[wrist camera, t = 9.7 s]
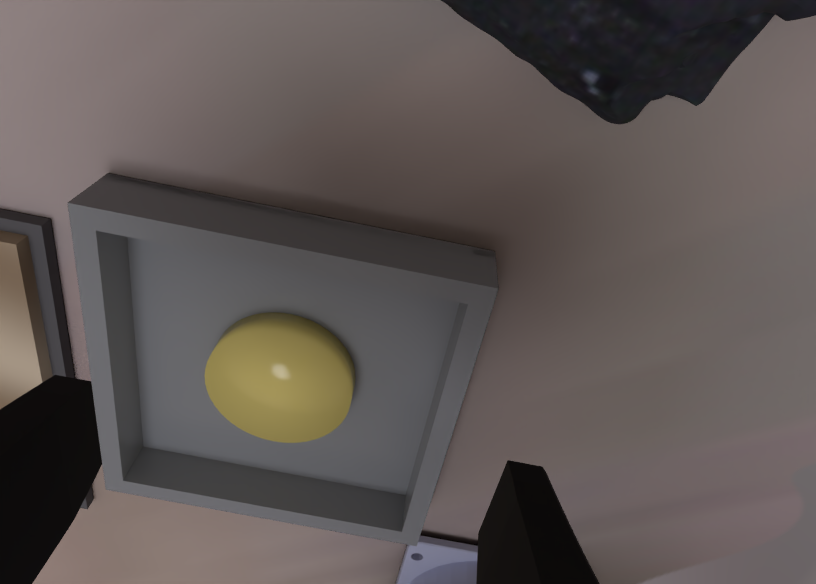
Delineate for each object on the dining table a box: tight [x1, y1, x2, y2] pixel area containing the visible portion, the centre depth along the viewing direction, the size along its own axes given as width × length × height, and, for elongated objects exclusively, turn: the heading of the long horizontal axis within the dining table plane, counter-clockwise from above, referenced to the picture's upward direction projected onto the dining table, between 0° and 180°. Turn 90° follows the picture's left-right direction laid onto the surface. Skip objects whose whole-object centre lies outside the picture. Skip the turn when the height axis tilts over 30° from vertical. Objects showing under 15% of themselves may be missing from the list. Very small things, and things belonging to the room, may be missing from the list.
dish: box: [68, 173, 499, 546], centre depth 21 cm, size 12×12×2 cm
